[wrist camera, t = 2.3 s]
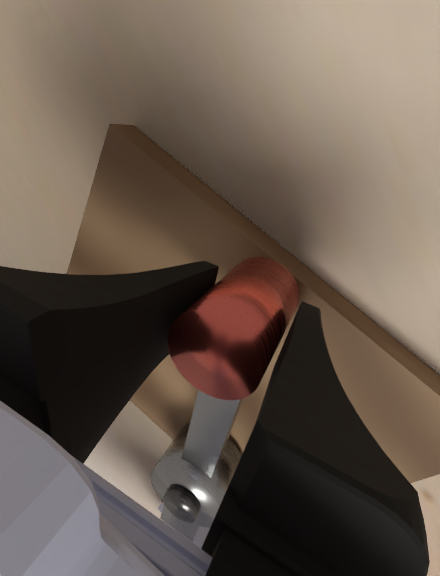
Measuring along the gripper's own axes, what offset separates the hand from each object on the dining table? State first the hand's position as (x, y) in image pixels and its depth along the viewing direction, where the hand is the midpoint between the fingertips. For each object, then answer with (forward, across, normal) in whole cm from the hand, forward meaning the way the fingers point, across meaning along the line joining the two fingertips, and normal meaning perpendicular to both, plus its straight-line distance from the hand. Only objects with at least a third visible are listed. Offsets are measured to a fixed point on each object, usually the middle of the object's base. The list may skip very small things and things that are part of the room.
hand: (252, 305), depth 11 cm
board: (+3, +2, +6) cm, 7 cm away
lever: (+1, 0, +8) cm, 8 cm away
